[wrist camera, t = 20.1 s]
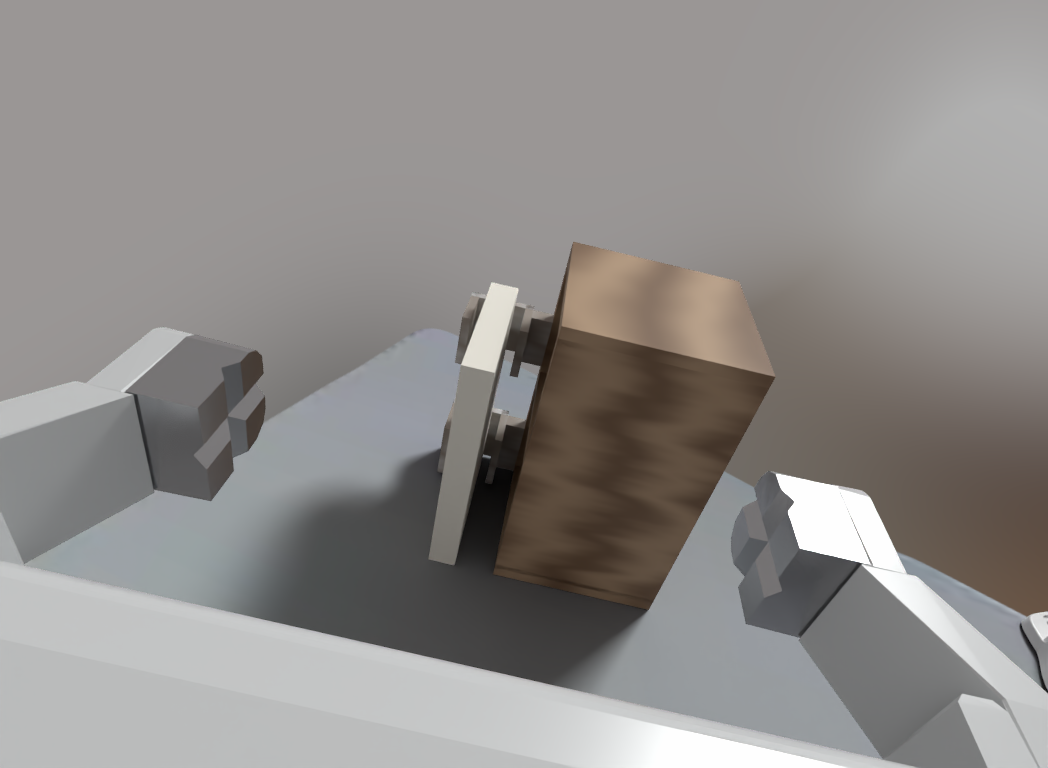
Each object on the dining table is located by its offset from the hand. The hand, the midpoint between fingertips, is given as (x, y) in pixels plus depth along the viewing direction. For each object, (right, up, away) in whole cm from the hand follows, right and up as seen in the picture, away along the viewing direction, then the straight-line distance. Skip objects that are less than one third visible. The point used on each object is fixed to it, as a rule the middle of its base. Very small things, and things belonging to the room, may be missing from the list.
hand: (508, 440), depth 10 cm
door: (-5, -9, +41) cm, 42 cm away
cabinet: (+1, -10, +41) cm, 43 cm away
